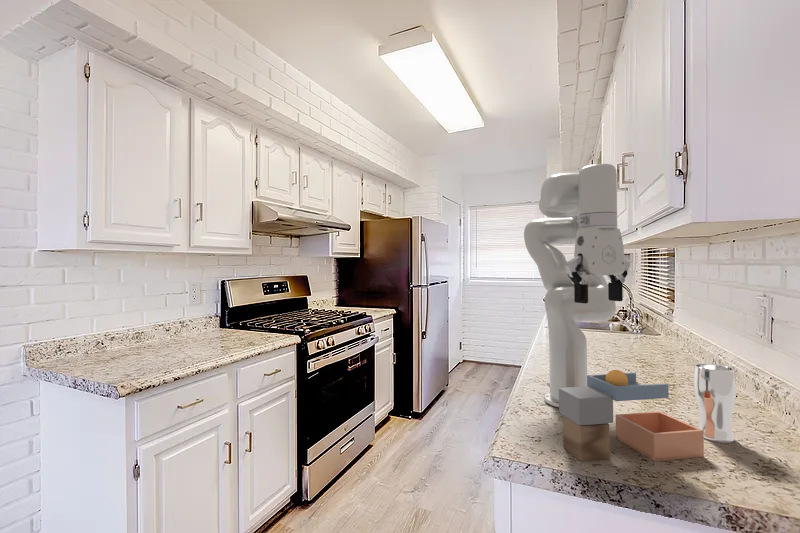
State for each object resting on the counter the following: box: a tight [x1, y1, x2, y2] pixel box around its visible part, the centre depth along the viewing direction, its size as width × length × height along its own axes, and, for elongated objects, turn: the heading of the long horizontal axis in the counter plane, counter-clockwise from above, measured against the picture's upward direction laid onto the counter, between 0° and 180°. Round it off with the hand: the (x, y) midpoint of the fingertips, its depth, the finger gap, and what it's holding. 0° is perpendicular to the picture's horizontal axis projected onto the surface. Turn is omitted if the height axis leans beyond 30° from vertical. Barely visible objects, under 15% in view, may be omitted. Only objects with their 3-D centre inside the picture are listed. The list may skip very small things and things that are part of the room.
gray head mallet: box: [558, 372, 670, 425], centre depth 82 cm, size 19×15×7 cm
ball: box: [606, 369, 628, 386], centre depth 79 cm, size 4×4×4 cm
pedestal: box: [562, 415, 611, 462], centre depth 78 cm, size 6×6×7 cm
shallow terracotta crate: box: [615, 410, 705, 462], centre depth 80 cm, size 11×11×5 cm
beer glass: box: [693, 362, 737, 444], centre depth 85 cm, size 7×7×15 cm
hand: (598, 301), depth 86 cm, fingers open, 9 cm apart
